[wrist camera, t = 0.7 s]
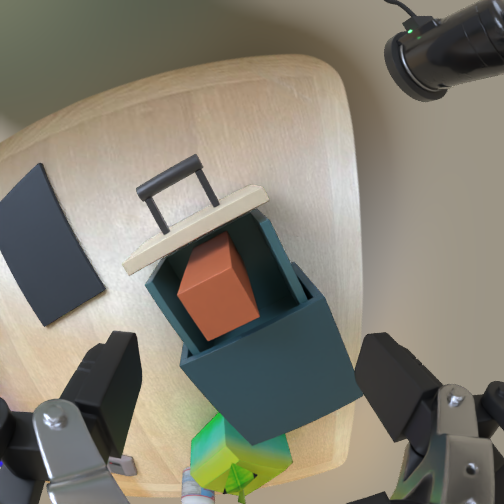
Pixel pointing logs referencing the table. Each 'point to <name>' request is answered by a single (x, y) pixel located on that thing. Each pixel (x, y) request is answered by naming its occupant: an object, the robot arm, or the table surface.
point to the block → (217, 288)
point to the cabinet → (278, 370)
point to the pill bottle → (194, 491)
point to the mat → (44, 250)
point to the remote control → (122, 466)
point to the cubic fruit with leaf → (235, 459)
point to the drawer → (218, 213)
